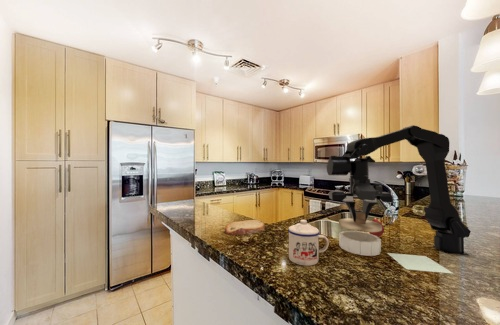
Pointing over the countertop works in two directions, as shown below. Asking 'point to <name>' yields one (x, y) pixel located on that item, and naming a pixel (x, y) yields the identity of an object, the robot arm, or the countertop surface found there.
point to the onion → (377, 232)
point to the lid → (360, 224)
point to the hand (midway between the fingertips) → (359, 221)
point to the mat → (418, 263)
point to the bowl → (360, 243)
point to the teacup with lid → (305, 243)
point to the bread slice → (244, 227)
